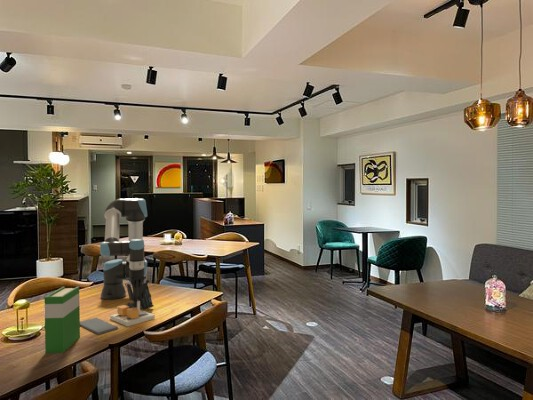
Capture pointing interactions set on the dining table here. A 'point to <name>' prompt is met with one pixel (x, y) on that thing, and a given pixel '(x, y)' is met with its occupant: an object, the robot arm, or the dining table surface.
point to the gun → (145, 300)
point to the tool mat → (97, 325)
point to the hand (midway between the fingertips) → (137, 312)
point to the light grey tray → (128, 321)
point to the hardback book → (62, 319)
